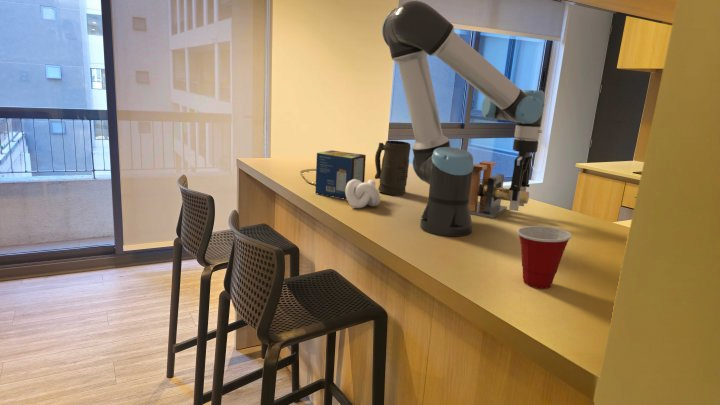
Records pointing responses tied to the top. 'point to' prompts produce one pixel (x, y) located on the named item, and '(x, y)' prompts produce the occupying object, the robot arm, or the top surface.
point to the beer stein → (393, 167)
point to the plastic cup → (541, 253)
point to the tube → (503, 194)
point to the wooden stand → (489, 203)
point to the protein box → (338, 172)
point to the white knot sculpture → (362, 193)
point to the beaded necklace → (307, 171)
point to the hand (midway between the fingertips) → (516, 207)
